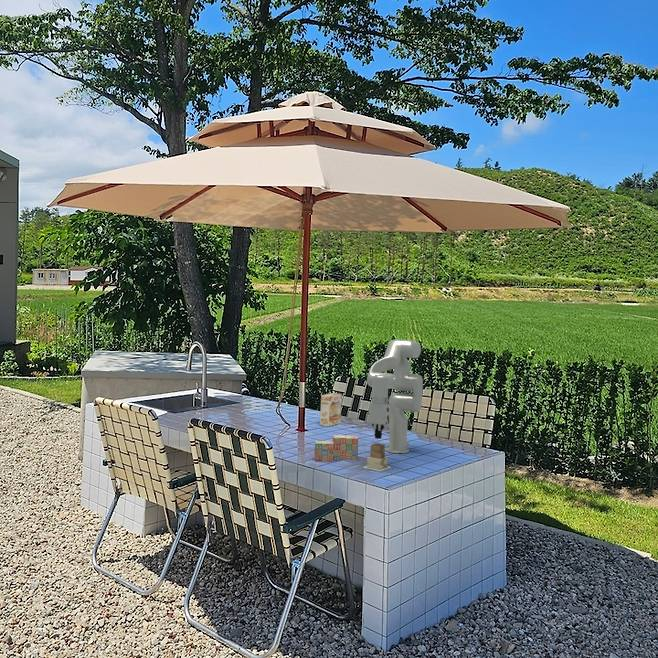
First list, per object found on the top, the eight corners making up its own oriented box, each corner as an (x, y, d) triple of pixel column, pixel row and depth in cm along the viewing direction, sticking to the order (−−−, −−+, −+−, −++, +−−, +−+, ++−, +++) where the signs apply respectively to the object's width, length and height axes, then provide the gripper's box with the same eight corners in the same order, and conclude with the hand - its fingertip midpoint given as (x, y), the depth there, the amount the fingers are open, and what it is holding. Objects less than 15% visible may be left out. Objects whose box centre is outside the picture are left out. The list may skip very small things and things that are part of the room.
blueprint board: (372, 464, 343) (372, 461, 343) (396, 469, 334) (397, 467, 334) (356, 469, 331) (356, 467, 331) (381, 475, 323) (381, 472, 323)
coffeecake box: (329, 427, 432) (330, 396, 431) (319, 425, 436) (320, 395, 435) (341, 423, 445) (342, 393, 444) (331, 422, 448) (332, 392, 447)
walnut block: (375, 455, 336) (376, 443, 336) (384, 457, 333) (385, 444, 333) (370, 457, 332) (370, 444, 332) (379, 458, 329) (379, 446, 329)
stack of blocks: (315, 461, 345) (315, 437, 344) (314, 458, 351) (315, 434, 350) (357, 462, 347) (358, 438, 346) (355, 459, 353) (356, 435, 352)
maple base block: (374, 464, 338) (375, 454, 337) (387, 467, 334) (387, 457, 333) (366, 467, 332) (367, 457, 332) (379, 470, 328) (379, 459, 328)
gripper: (397, 401, 330) (395, 439, 330) (370, 397, 338) (369, 434, 339) (388, 403, 324) (387, 441, 324) (362, 399, 332) (360, 437, 333)
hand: (378, 438), depth 332 cm, fingers closed
